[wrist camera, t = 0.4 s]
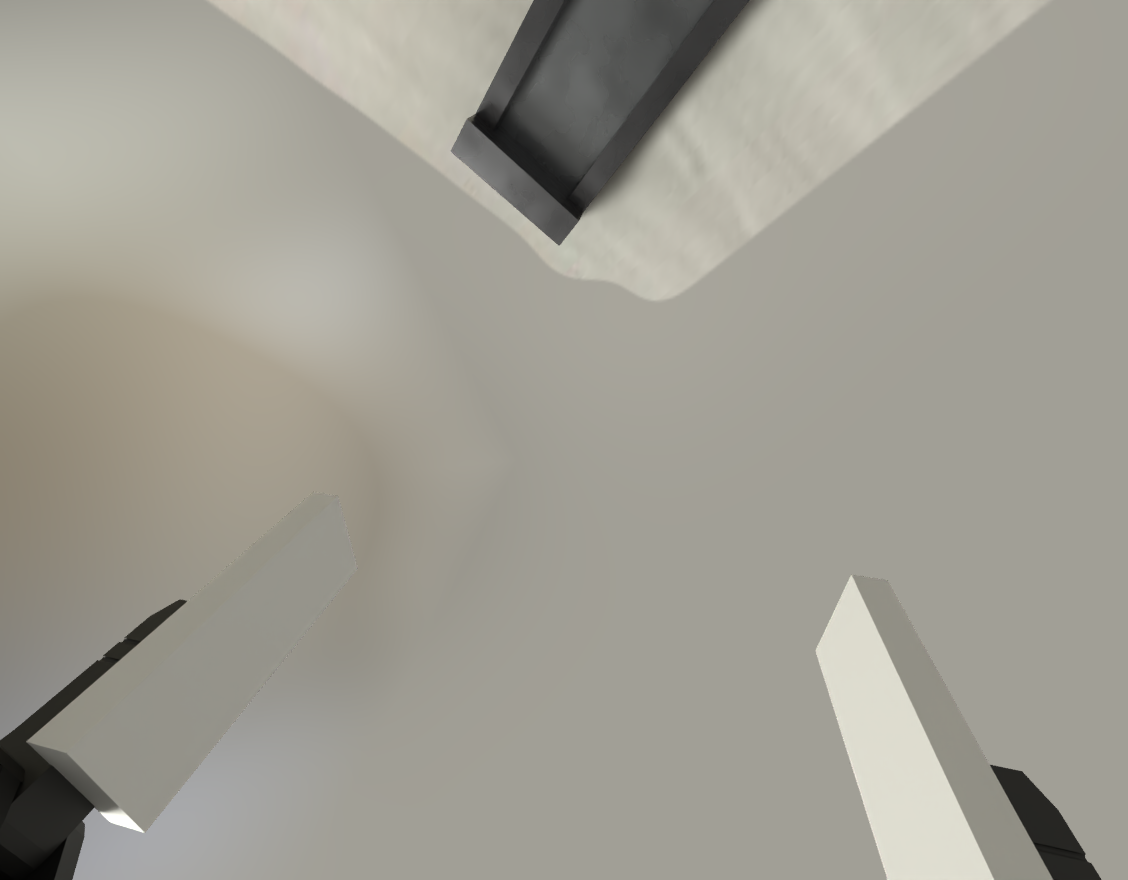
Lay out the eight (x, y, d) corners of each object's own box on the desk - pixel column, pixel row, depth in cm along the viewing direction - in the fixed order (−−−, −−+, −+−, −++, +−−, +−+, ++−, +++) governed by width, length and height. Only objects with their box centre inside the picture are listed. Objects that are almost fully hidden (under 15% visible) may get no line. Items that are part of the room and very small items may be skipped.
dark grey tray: (763, -419, 16) (781, -509, 13) (890, -188, 18) (927, -222, 15) (473, 136, 29) (450, 151, 26) (570, 223, 32) (559, 245, 29)
